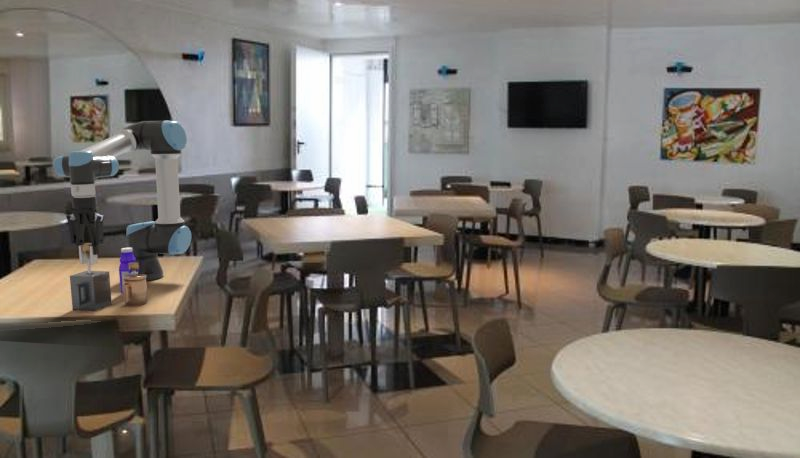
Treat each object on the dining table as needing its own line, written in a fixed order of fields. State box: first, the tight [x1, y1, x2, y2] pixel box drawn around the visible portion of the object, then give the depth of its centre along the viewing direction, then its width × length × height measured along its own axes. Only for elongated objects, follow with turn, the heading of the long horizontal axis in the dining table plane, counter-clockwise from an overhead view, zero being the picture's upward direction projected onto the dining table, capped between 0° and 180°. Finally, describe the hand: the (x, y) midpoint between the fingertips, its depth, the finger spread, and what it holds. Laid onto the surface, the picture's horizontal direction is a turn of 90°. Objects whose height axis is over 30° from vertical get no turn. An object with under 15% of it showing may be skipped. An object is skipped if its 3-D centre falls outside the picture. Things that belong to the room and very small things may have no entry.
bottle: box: [118, 247, 138, 295], centre depth 266 cm, size 7×6×17 cm
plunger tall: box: [82, 242, 92, 274], centre depth 245 cm, size 7×7×19 cm
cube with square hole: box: [69, 270, 113, 312], centre depth 244 cm, size 12×9×12 cm
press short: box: [122, 262, 148, 307], centre depth 250 cm, size 11×8×15 cm
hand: (88, 263), depth 245 cm, fingers closed on plunger tall, 4 cm apart
